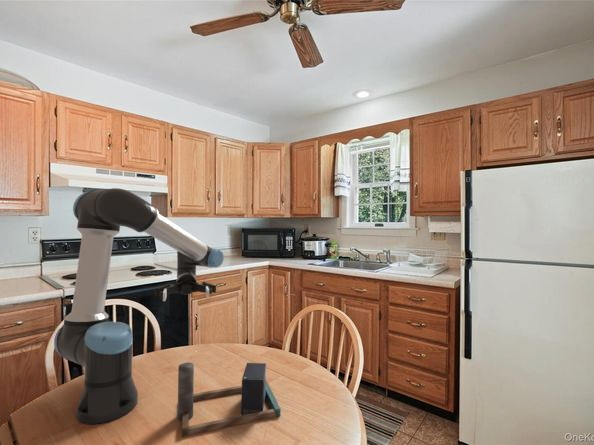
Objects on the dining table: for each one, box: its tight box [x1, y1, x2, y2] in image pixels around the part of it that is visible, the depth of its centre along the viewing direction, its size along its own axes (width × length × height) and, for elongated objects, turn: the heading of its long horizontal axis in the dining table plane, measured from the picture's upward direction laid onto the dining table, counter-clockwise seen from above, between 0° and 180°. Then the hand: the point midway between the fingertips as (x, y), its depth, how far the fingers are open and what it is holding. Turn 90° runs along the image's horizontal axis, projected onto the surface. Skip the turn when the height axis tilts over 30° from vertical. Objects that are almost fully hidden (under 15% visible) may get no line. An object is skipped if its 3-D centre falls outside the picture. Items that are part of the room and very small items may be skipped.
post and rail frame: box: [177, 362, 281, 437], centre depth 88 cm, size 27×16×14 cm, turn 110°
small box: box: [240, 362, 267, 416], centre depth 90 cm, size 11×6×10 cm, turn 1°
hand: (186, 295), depth 100 cm, fingers open, 13 cm apart
